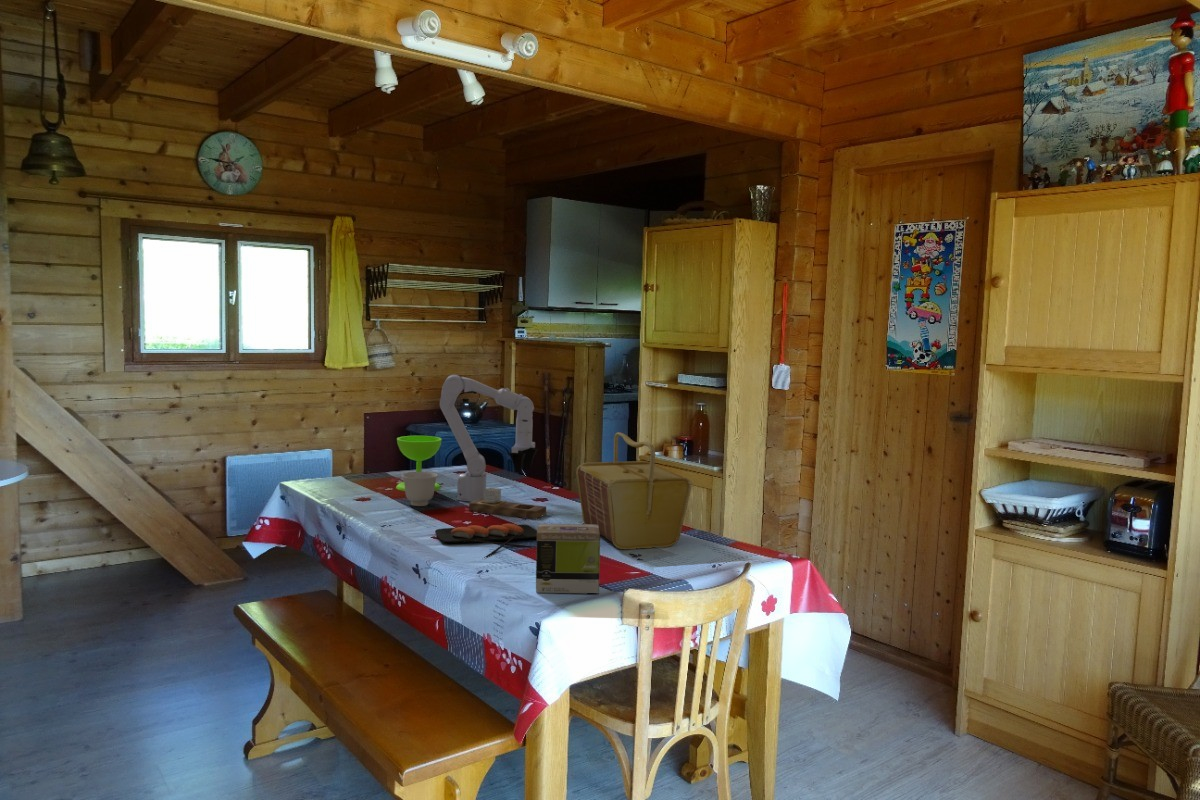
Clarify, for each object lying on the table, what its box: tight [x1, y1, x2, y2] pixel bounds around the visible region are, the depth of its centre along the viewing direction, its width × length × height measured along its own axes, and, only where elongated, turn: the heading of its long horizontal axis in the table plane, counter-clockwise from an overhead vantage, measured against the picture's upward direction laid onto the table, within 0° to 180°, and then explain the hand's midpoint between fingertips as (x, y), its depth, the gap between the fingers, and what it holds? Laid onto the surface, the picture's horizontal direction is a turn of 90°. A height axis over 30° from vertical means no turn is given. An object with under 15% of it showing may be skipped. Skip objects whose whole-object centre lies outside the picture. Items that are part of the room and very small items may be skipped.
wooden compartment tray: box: [468, 499, 547, 520], centre depth 283 cm, size 24×8×3 cm, turn 69°
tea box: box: [535, 523, 601, 594], centre depth 207 cm, size 15×10×15 cm
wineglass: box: [395, 435, 443, 492], centre depth 316 cm, size 16×16×18 cm
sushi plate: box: [434, 523, 537, 558], centre depth 244 cm, size 29×30×4 cm
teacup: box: [401, 471, 439, 507], centre depth 290 cm, size 12×15×10 cm
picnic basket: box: [575, 431, 692, 550], centre depth 255 cm, size 29×26×30 cm
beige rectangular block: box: [484, 487, 502, 505], centre depth 284 cm, size 4×4×7 cm
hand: (522, 470), depth 301 cm, fingers open, 7 cm apart
